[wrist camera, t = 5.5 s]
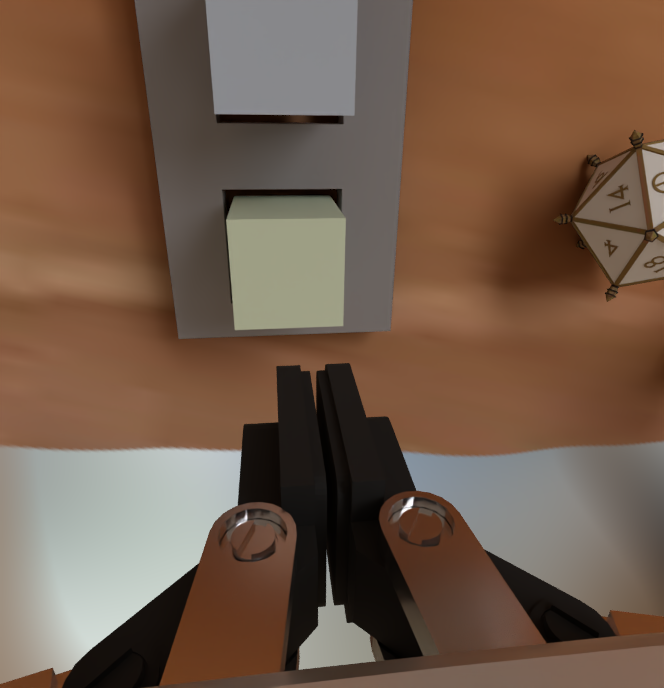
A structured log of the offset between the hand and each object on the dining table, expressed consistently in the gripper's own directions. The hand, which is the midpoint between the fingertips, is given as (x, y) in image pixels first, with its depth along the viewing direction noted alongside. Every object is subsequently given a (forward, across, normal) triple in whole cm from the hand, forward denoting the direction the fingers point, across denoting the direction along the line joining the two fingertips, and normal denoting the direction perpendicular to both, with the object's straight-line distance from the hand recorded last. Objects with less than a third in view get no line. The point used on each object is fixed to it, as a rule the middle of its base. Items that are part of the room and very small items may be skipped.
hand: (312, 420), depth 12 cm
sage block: (+18, 0, 0) cm, 18 cm away
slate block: (+16, 0, -9) cm, 18 cm away
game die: (+19, -19, -2) cm, 27 cm away
